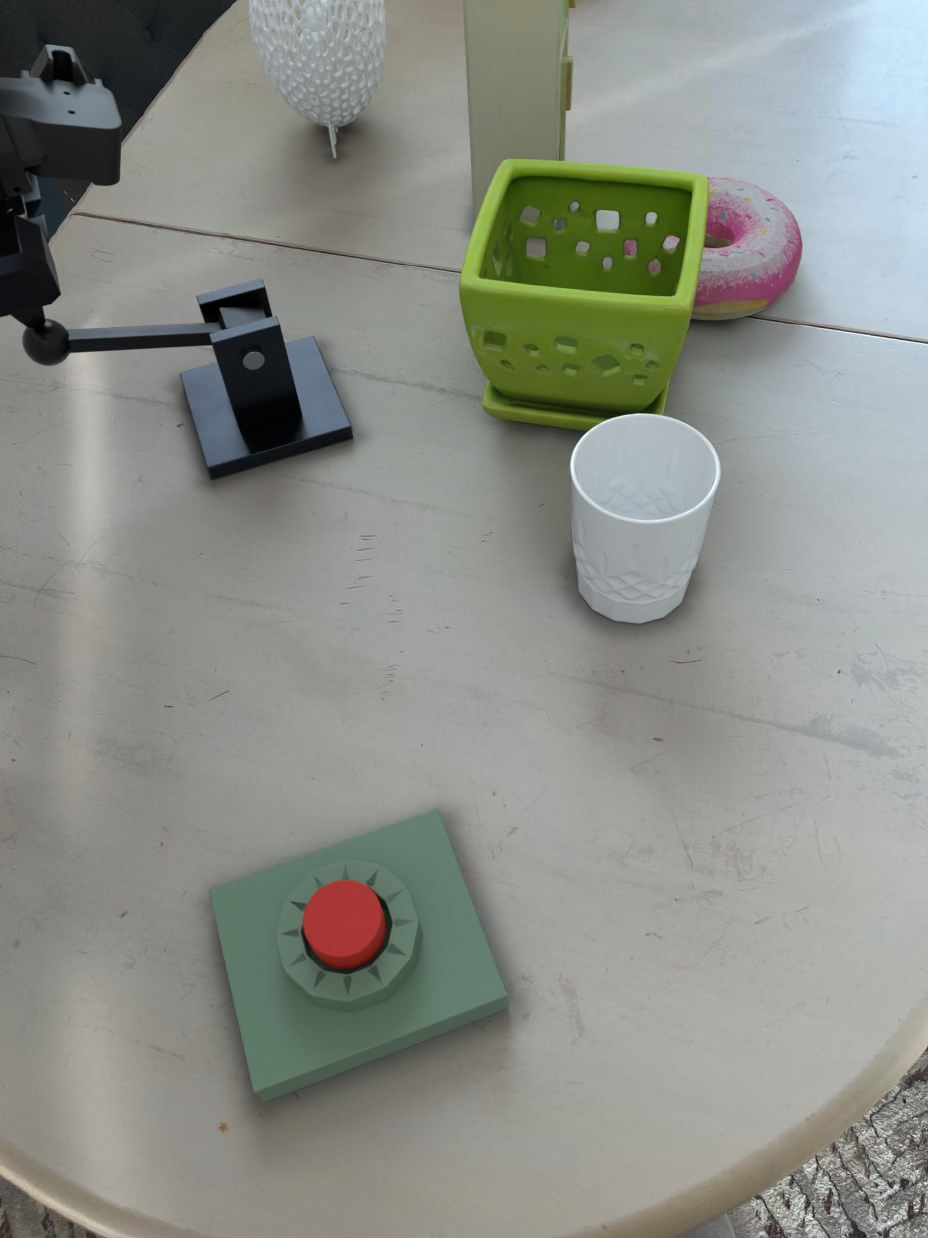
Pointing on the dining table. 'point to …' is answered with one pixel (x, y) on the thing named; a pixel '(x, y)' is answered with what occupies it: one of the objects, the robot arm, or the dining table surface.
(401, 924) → the button housing
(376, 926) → the button
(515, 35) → the toy refrigerator
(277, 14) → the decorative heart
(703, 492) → the white cup
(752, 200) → the donut
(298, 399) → the lever base
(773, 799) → the dining table surface
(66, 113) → the robot arm
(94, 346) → the lever with ball knob
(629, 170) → the flower pot
